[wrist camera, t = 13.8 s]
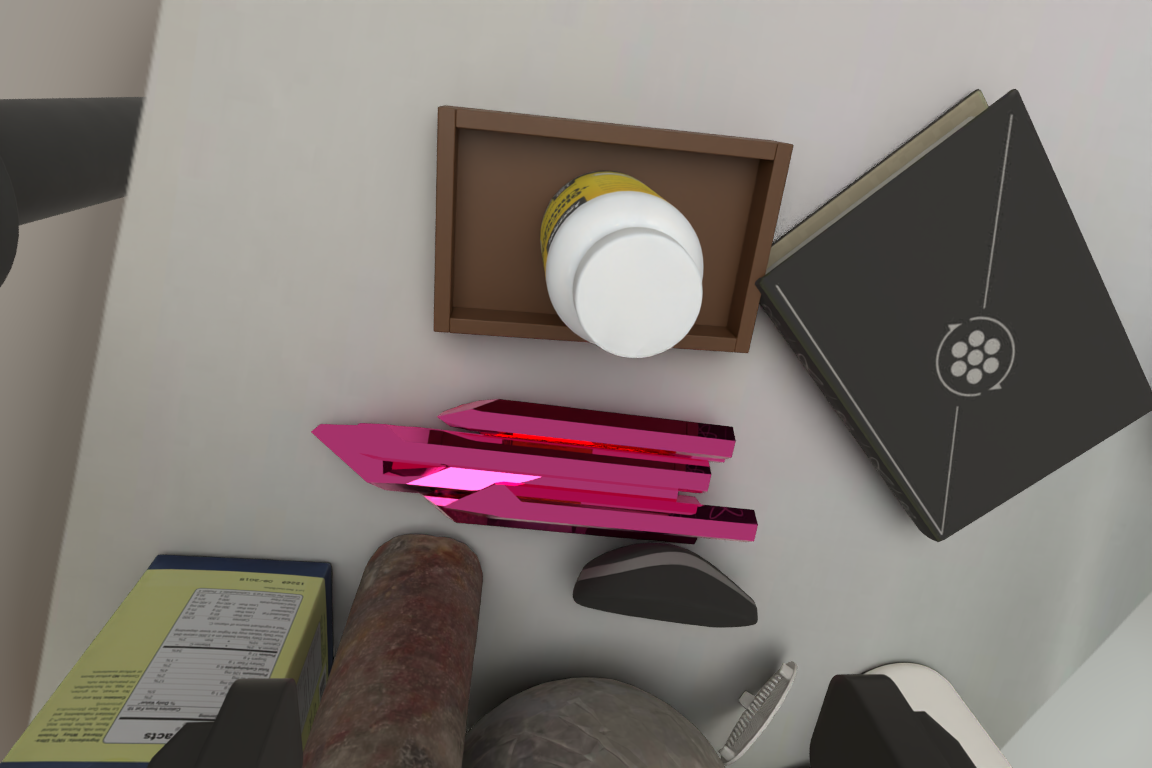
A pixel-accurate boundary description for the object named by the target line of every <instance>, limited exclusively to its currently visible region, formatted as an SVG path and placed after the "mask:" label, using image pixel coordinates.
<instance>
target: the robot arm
mask: <svg viewBox="0 0 1152 768" xmlns="http://www.w3.org/2000/svg"><path fill="white" fill-rule="evenodd" d="M809 754H810V766H811V768H977V767H976V766H975V765H974V763H973V762H972V760H971V759H970V757H969V756H968V754H967V753H966V752H965V750H964V749H963V747H962V746H961V744H960V743H959V741H958V740H956V739H955V738H954V737H953V736H952V735H951V734H950V733H949V732H947V731H946V730H945V729H944V728H943V727H942V726H941V725H940V724H939V723H937V722H936V721H935V720H934V719H933V718H932V717H931V716H930V715H928V714H927V713H926V712H925V711H913V709H912V708H911V706H910V705H909V703H908V702H907V700H906V699H905V697H904V696H903V694H902V693H901V691H900V690H899V688H898V687H897V685H896V684H895V682H894V681H893V680H892V679H891V678H890V677H888V676H886V675H884V674H845V675H835V676H834V677H833V678H832V680H831V681H830V684H829V687H828V690H827V693H826V696H825V699H824V702H823V705H822V708H821V711H820V714H819V717H818V720H817V723H816V726H815V729H814V732H813V735H812V739H811V742H810V753H809ZM302 766H303V746H302V736H301V726H300V716H299V706H298V696H297V687H296V682H295V680H294V679H293V678H264V679H237V680H235V681H234V683H233V684H232V685H231V687H230V689H229V691H228V693H227V695H226V697H225V699H224V701H223V704H222V706H221V708H220V710H219V712H218V715H217V717H216V719H215V721H214V722H187V723H186V724H185V725H184V726H183V727H182V728H181V729H180V730H179V731H178V732H177V733H176V734H175V735H174V736H173V737H172V738H171V739H170V740H169V741H168V742H167V743H166V744H165V745H164V746H163V747H162V748H161V749H160V750H159V751H158V752H157V753H156V754H155V755H154V756H153V757H152V758H151V760H150V762H149V764H148V766H147V768H302Z"/></svg>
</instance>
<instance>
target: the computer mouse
mask: <svg viewBox="0 0 1152 768" xmlns="http://www.w3.org/2000/svg"><path fill="white" fill-rule="evenodd" d="M573 598H574V601H575V602H576V603H578V604H580V605H582V606H585V607H588V608H593V609H597V610H602V611H606V612H611V613H617V614H622V615H628V616H634V617H641V618H647V619H654V620H661V621H668V622H675V623H682V624H690V625H699V626H707V627H741V626H749V625H754V624H756V623H757V621H758V616H757V607H756V605H755V602H754V601H753V599H752V598H751V597H749V596H748V595H747V594H746V593H745V592H744V591H743V590H742V589H741V588H739V587H738V586H737V585H736V584H735V583H734V582H733V581H731V580H730V579H729V578H728V577H727V576H726V575H724V574H723V573H722V572H721V571H720V570H718V569H717V568H716V567H715V566H713V565H712V564H711V563H709V562H708V561H706V560H705V559H703V558H702V557H700V556H699V555H697V554H695V553H693V552H691V551H689V550H687V549H684V548H682V547H679V546H676V545H672V544H667V543H653V542H651V543H640V544H634V545H629V546H625V547H621V548H618V549H615V550H612V551H610V552H607V553H605V554H603V555H601V556H599V557H597V558H595V559H593V560H592V561H590V562H589V563H587V564H586V565H585V566H584V567H583V570H582V572H581V573H580V575H579V577H578V579H577V582H576V583H575V586H574V590H573Z"/></svg>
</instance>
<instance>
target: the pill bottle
mask: <svg viewBox="0 0 1152 768" xmlns="http://www.w3.org/2000/svg"><path fill="white" fill-rule="evenodd" d="M540 245H541V252H542V258H543V265H544V271H545V278H546V284H547V289H548V293H549V296H550V300H551V302H552V305H553V307H554V309H555V311H556V312H557V314H558V315H559V317H560V318H561V320H562V321H563V322H564V323H565V324H566V325H567V326H568V327H569V328H570V329H571V330H572V331H573V332H574V333H575V334H577V335H578V336H580V337H581V338H583V339H585V340H587V341H589V342H591V343H593V344H596V345H597V346H599V347H600V348H602V349H603V350H605V351H607V352H609V353H611V354H614V355H617V356H620V357H626V358H645V357H650V356H654V355H657V354H660V353H662V352H664V351H666V350H668V349H670V348H671V347H673V346H674V345H676V344H677V343H678V342H679V341H681V340H682V339H683V338H684V337H685V335H686V334H687V333H688V332H689V331H690V329H691V328H692V326H693V325H694V323H695V321H696V319H697V316H698V314H699V311H700V307H701V303H702V294H703V290H702V279H703V255H702V249H701V246H700V243H699V239H698V237H697V235H696V233H695V231H694V229H693V227H692V226H691V224H690V223H689V222H688V220H687V219H686V218H685V217H684V216H683V215H682V214H681V213H680V212H679V211H678V210H677V209H676V208H675V207H674V206H673V205H671V204H670V203H668V202H667V201H666V200H664V199H663V198H662V197H660V196H659V195H658V194H657V193H655V192H654V191H653V190H651V189H650V188H649V187H647V186H646V185H645V184H643V183H642V182H640V181H639V180H637V179H636V178H634V177H632V176H629V175H627V174H624V173H621V172H616V171H607V170H606V171H594V172H589V173H586V174H583V175H581V176H578V177H576V178H575V179H573V180H571V181H570V182H568V183H567V184H566V185H564V186H563V187H562V188H561V189H560V190H559V191H558V192H557V193H556V194H555V195H554V197H553V198H552V199H551V201H550V203H549V204H548V206H547V208H546V210H545V213H544V216H543V219H542V223H541V230H540Z"/></svg>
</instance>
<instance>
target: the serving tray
mask: <svg viewBox="0 0 1152 768" xmlns="http://www.w3.org/2000/svg"><path fill="white" fill-rule="evenodd" d="M792 150H793V144H788V143H782V142H777V141H772V140H762V139H753V138H744V137H735V136H725V135H716V134H707V133H697V132H688V131H679V130H669V129H660V128H651V127H641V126H632V125H623V124H613V123H604V122H595V121H586V120H576V119H567V118H558V117H548V116H539V115H530V114H520V113H511V112H502V111H492V110H483V109H474V108H464V107H455V106H446V105H445V106H440V107H438V129H437V181H436V232H435V284H434V331H435V332H447V333H448V332H450V333H461V334H475V335H490V336H505V337H519V338H534V339H548V340H563V341H578V342H589V341H587V340H585V339H583V338H581V337H580V336H578V335H577V334H575V333H574V332H573V331H572V330H571V329H570V328H569V327H568V326H567V325H566V324H565V323H564V322H563V321H562V320H561V318H560V317H559V315H558V314H557V312H556V311H555V309H554V307H553V305H552V302H551V300H550V296H549V293H548V289H547V284H546V278H545V271H544V265H543V258H542V252H541V245H540V230H541V223H542V219H543V216H544V213H545V210H546V208H547V206H548V204H549V203H550V201H551V199H552V198H553V197H554V195H555V194H556V193H557V192H558V191H559V190H560V189H561V188H562V187H563V186H564V185H566V184H567V183H568V182H570V181H571V180H573V179H575V178H576V177H578V176H581V175H583V174H586V173H589V172H594V171H606V170H607V171H616V172H621V173H624V174H627V175H629V176H632V177H634V178H636V179H637V180H639V181H640V182H642V183H643V184H645V185H646V186H647V187H649V188H650V189H651V190H653V191H654V192H655V193H657V194H658V195H659V196H660V197H662V198H663V199H664V200H666V201H667V202H668V203H670V204H671V205H673V206H674V207H675V208H676V209H677V210H678V211H679V212H680V213H681V214H682V215H683V216H684V217H685V218H686V219H687V220H688V222H689V223H690V224H691V226H692V227H693V229H694V231H695V233H696V235H697V237H698V239H699V243H700V246H701V249H702V255H703V279H702V290H703V294H702V303H701V307H700V311H699V314H698V316H697V319H696V321H695V323H694V325H693V326H692V328H691V329H690V331H689V332H688V333H687V334H686V335H685V337H684V338H683V339H682V340H681V341H679V342H678V343H677V344H676V345H674V346H673V347H671V348H680V349H694V350H709V351H724V352H739V353H748V352H749V348H750V343H751V338H752V334H753V329H754V325H755V320H756V315H757V311H758V306H759V302H760V297H761V293H760V292H759V290H758V289H757V287H756V286H755V282H756V280H758V278H762V277H763V276H764V275H765V274H766V269H767V265H768V260H769V256H770V251H771V246H772V242H773V237H774V233H775V228H776V223H777V219H778V214H779V210H780V205H781V200H782V196H783V191H784V187H785V182H786V177H787V173H788V168H789V164H790V159H791V154H792Z"/></svg>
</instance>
